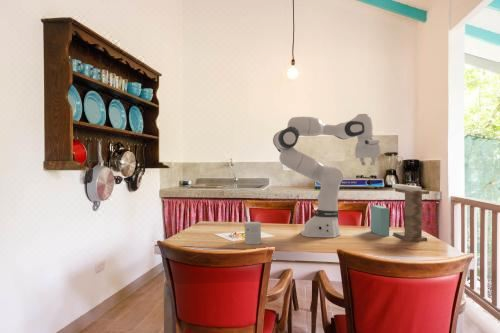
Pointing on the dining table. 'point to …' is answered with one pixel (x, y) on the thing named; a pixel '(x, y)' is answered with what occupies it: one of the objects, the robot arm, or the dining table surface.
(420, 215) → the walnut stand
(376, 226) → the teal block
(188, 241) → the dining table surface
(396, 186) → the domino tile
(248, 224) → the small box
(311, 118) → the robot arm
